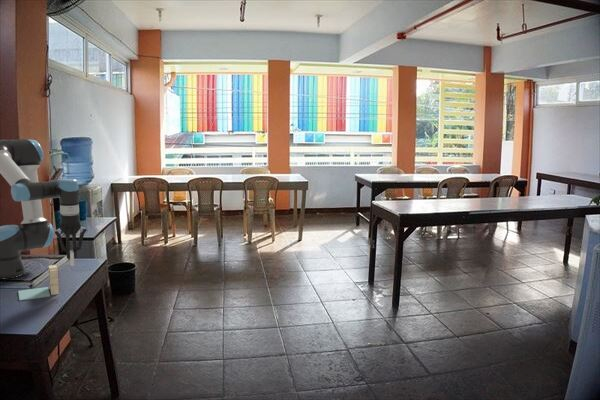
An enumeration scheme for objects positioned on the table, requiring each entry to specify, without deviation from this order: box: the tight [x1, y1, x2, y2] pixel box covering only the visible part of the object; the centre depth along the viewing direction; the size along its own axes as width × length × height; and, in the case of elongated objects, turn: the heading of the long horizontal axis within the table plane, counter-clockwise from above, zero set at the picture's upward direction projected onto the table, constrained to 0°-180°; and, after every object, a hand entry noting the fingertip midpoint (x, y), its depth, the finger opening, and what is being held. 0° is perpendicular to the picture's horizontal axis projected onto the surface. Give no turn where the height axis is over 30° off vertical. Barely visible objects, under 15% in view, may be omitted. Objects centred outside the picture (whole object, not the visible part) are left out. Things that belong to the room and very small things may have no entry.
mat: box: [18, 286, 51, 302], centre depth 205 cm, size 11×12×1 cm
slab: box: [47, 264, 60, 296], centre depth 209 cm, size 8×3×11 cm, turn 33°
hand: (72, 265), depth 211 cm, fingers closed
